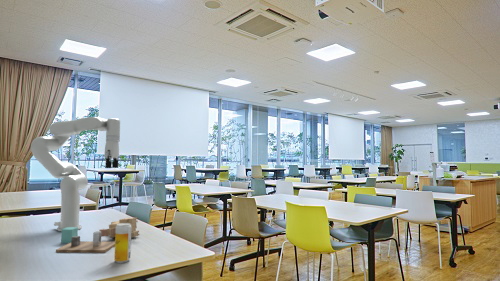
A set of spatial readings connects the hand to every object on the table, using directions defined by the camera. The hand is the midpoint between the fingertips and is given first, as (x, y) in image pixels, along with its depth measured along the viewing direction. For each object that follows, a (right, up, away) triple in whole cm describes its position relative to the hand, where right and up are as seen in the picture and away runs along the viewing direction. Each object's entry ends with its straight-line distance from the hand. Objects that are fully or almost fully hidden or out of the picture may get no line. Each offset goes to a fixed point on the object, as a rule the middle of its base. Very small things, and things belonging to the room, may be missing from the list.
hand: (111, 167), depth 186 cm
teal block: (-9, -35, -29) cm, 46 cm away
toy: (+12, -36, -19) cm, 43 cm away
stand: (+6, -34, -39) cm, 53 cm away
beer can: (+30, -34, -57) cm, 73 cm away
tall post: (+10, -33, -39) cm, 52 cm away
